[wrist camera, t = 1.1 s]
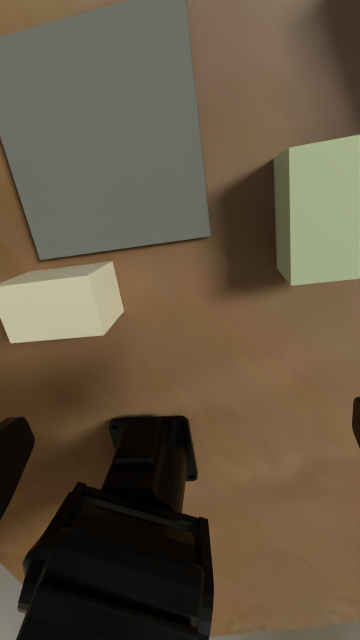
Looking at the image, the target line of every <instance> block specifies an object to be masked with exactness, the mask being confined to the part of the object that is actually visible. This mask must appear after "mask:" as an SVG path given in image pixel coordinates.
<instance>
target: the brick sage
mask: <svg viewBox="0 0 360 640" xmlns="http://www.w3.org/2000/svg"><path fill="white" fill-rule="evenodd" d="M273 160H274V192H275V224H276V255H277V269H278V270H279V271H280V273H281V274H282V275H283V276H284V278H285V279H286V280H287V281H288V283H289V284H290V285H291V286H294V285H303V284H312V283H321V282H331V281H340V280H349V279H358V278H360V135H355V136H350V137H344V138H339V139H333V140H328V141H323V142H317V143H312V144H306V145H301V146H295V147H290V148H288V149H286V150H285V151H284V152H282V153H281V154H279V155H278V156H276V157H275V158H274V159H273Z"/></svg>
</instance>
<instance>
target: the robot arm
mask: <svg viewBox="0 0 360 640" xmlns="http://www.w3.org/2000/svg"><path fill="white" fill-rule="evenodd" d="M181 422H182V423H184V424H181ZM114 425H116V426H114ZM352 428H353V432H354V435H355V438H356V440H357V443H358V445H359V448H360V397H356V398H355V399H354V402H353V417H352ZM109 430H110V433H111V437H112V440H113V443H114V447H115V450H116V451H115V454H114V456H113V459H112V463H111V466H110V468H109V471H108V473H107V476H106V478H105V481H104V483H103V486H102V488H101V490H100V489H96V488H93V487H89V486H86V484H84V483H81V482H78V483H77V485H76V486H75V488H74V489H73V491H72V492H69V494H68V495H67V497H66V498H65V500H64V502H63V503H62V505H61V507H60V508H59V510H58V511H57V513H56V515H55V516H54V518H53V519H52V521H51V522H50V524H49V526H48V527H47V529H46V530H45V532H44V534H43V535H42V536H41V537H40V538H39V540H38V541H37V542H36V543H35V544H34V546H33V547H32V548H31V549H30V550H29V552H28V553H27V555H26V557H25V559H24V562H23V570H24V574H25V579H24V582H23V587H22V591H21V594H20V598H19V602H18V612H22V613H25V614H26V615H25V618H24V620H23V623H22V626H21V629H20V631H19V634H18V636H17V639H16V640H209V635H210V629H211V622H212V613H213V598H214V582H213V569H212V558H211V547H210V536H209V525H208V519H206V518H203V517H199V518H197V517H193V516H190V515H186V514H183V513H182V508H183V499H184V491H185V482H186V481H195V480H196V479H197V475H198V472H197V466H196V460H195V454H194V449H193V443H192V437H191V431H190V425H189V421H188V419H187V418H186V417H183V416H178V417H152V418H126V419H113V420H111V422H110V424H109ZM34 444H35V438H34V435H33V433H32V431H31V428H30V426H29V424H28V422H27V420H26V419H25V418H24V417H22V416H18V417H9V418H7V419H5V420H3V421H2V422H0V520H1V518H2V516H3V514H4V512H5V510H6V509H7V507H8V505H9V503H10V501H11V499H12V496H13V494H14V492H15V490H16V487H17V485H18V483H19V480H20V478H21V476H22V473H23V471H24V468H25V466H26V464H27V461H28V459H29V457H30V454H31V452H32V450H33V447H34Z"/></svg>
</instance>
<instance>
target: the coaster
mask: <svg viewBox="0 0 360 640" xmlns="http://www.w3.org/2000/svg"><path fill="white" fill-rule="evenodd" d="M0 137H1V140H2V144H3V147H4V150H5V153H6V156H7V159H8V162H9V165H10V168H11V171H12V175H13V178H14V181H15V184H16V187H17V190H18V193H19V196H20V199H21V202H22V206H23V209H24V212H25V215H26V218H27V221H28V224H29V227H30V230H31V233H32V237H33V240H34V243H35V246H36V249H37V252H38V255H39V258H40V260H44V259H51V258H59V257H66V256H73V255H80V254H87V253H94V252H101V251H109V250H116V249H123V248H130V247H137V246H144V245H152V244H159V243H166V242H173V241H180V240H187V239H194V238H202V237H209V236H211V230H210V221H209V212H208V202H207V193H206V184H205V174H204V165H203V156H202V146H201V137H200V128H199V119H198V109H197V100H196V91H195V81H194V72H193V63H192V53H191V44H190V35H189V25H188V16H187V7H186V0H127V1H123V2H120V3H116V4H113V5H109V6H106V7H102V8H99V9H95V10H92V11H88V12H85V13H81V14H78V15H74V16H71V17H67V18H64V19H60V20H57V21H53V22H50V23H46V24H43V25H39V26H36V27H32V28H29V29H25V30H22V31H18V32H15V33H11V34H8V35H4V36H1V37H0Z"/></svg>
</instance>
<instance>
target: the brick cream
mask: <svg viewBox="0 0 360 640" xmlns="http://www.w3.org/2000/svg"><path fill="white" fill-rule="evenodd" d="M123 312H124V310H123V306H122V301H121V297H120V293H119V288H118V284H117V280H116V275H115V271H114V267H113V262H112V261H108V262H100V263H93V264H85V265H77V266H70V267H62V268H54V269H47V270H39V271H32V272H27V273H25V274H22V275H20V276H17V277H15V278H12V279H10V280H7V281H4V282H2V283H0V318H1V321H2V323H3V326H4V328H5V331H6V333H7V336H8V338H9V341H10V343H20V342H32V341H43V340H55V339H67V338H78V337H90V336H101V335H104V334H105V333H106V332H107V331H108V330H109V328H110V327H111V326H112V325H113V324H114V322H115V321H116V320H117V319H118V318H119V316H120V315H121V314H122V313H123Z"/></svg>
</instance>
